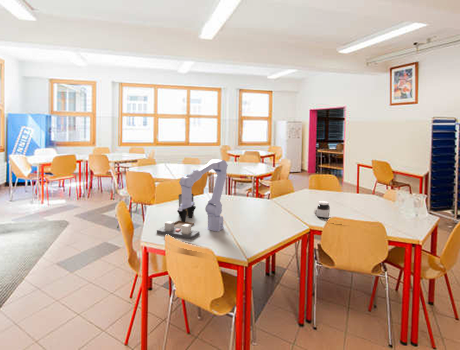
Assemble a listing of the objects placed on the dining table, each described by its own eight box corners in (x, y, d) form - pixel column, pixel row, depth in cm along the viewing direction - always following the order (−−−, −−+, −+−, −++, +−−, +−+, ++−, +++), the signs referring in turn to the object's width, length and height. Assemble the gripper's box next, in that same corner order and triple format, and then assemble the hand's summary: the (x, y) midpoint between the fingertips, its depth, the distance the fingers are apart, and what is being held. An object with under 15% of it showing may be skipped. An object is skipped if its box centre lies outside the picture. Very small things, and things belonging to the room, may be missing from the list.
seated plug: (174, 232, 181) (174, 221, 180) (170, 235, 178) (170, 223, 176) (168, 231, 183) (168, 220, 182) (164, 233, 179) (164, 222, 178)
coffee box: (187, 213, 221) (187, 192, 219) (194, 215, 217) (193, 193, 215) (178, 216, 214) (178, 194, 212) (184, 218, 210) (184, 195, 208)
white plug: (191, 235, 177) (191, 224, 175) (187, 238, 173) (187, 226, 172) (185, 234, 178) (185, 223, 177) (181, 237, 174) (181, 225, 173)
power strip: (199, 235, 177) (199, 230, 177) (191, 240, 169) (191, 235, 168) (165, 229, 187) (165, 224, 186) (156, 234, 178) (156, 228, 178)
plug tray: (194, 225, 195) (194, 222, 195) (184, 231, 184) (184, 228, 184) (178, 222, 200) (178, 220, 199) (168, 228, 189) (168, 225, 189)
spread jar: (325, 220, 210) (326, 204, 208) (310, 217, 217) (311, 201, 215) (331, 216, 219) (332, 201, 217) (316, 213, 226) (317, 198, 224)
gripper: (187, 194, 180) (187, 215, 183) (173, 199, 167) (174, 222, 169) (197, 195, 178) (197, 217, 180) (184, 200, 164) (184, 224, 167)
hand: (186, 220), depth 174 cm, fingers open, 7 cm apart
